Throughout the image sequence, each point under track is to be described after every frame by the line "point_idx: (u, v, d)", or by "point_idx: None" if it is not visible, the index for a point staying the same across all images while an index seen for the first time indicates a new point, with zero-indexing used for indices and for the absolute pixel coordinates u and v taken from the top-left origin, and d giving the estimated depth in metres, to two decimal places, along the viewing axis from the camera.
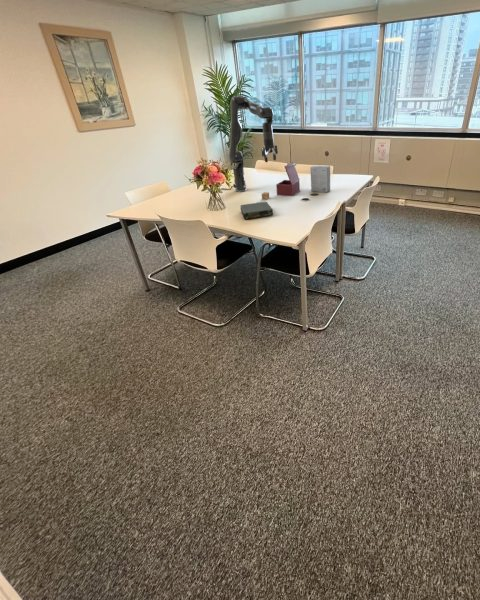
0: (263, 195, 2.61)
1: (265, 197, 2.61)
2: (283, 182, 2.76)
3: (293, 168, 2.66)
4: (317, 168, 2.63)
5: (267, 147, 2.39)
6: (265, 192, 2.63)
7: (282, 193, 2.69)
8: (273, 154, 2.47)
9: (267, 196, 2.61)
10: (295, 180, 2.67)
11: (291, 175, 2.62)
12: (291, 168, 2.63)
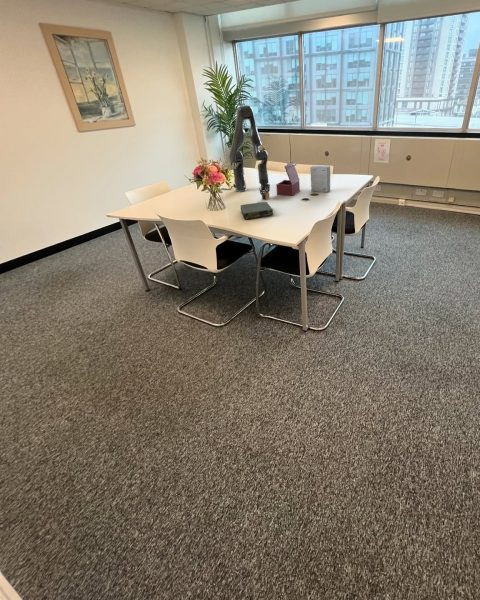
0: None
1: (265, 197, 2.61)
2: (283, 182, 2.76)
3: (293, 168, 2.66)
4: (317, 168, 2.63)
5: (263, 185, 2.55)
6: (265, 192, 2.63)
7: (282, 193, 2.69)
8: None
9: (267, 196, 2.61)
10: (295, 180, 2.67)
11: (291, 175, 2.62)
12: (291, 168, 2.63)
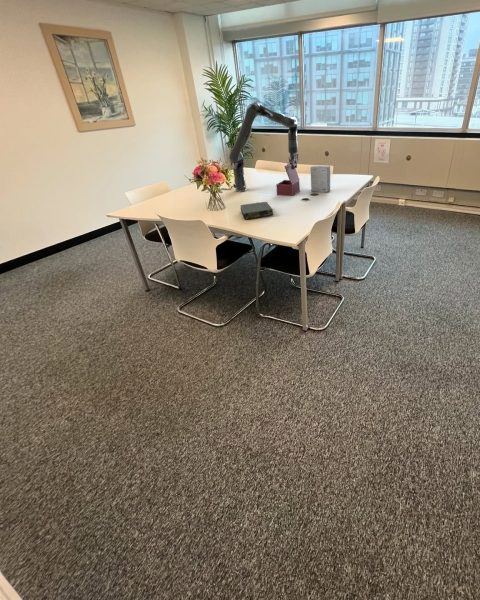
0: None
1: None
2: (283, 182, 2.76)
3: None
4: (317, 168, 2.63)
5: (293, 154, 2.52)
6: None
7: (282, 193, 2.69)
8: (294, 162, 2.61)
9: None
10: (295, 180, 2.67)
11: (291, 175, 2.62)
12: None
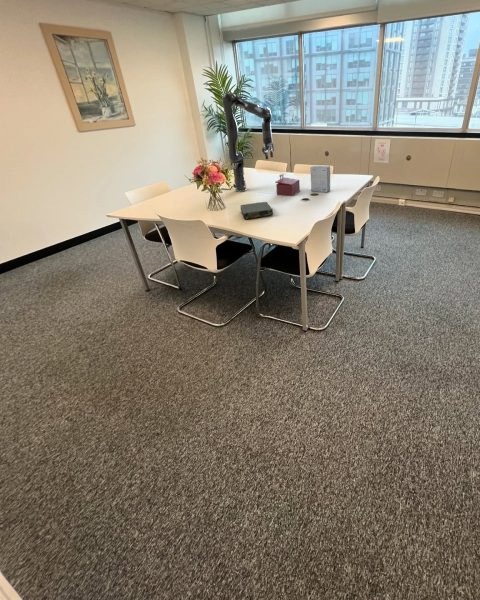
0: None
1: None
2: None
3: (286, 179, 2.74)
4: (317, 168, 2.63)
5: (267, 145, 2.55)
6: None
7: (282, 193, 2.69)
8: None
9: None
10: (294, 181, 2.68)
11: (286, 181, 2.67)
12: (284, 179, 2.71)
